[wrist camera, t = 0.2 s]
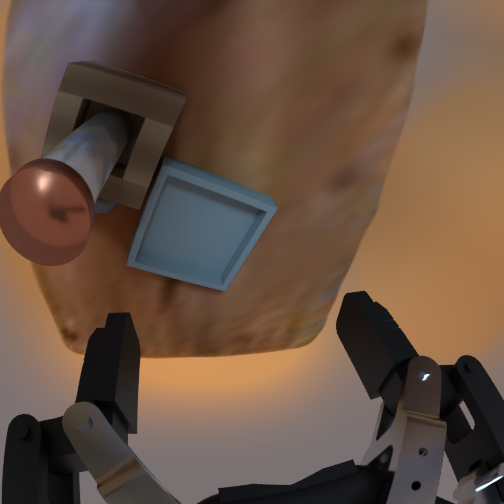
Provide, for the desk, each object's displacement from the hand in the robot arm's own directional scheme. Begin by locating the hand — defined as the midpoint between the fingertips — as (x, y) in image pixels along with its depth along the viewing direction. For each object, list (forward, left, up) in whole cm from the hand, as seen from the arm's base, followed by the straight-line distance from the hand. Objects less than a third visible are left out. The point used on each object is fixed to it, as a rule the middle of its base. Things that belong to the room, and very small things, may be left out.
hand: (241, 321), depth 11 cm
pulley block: (+2, -9, -22) cm, 24 cm away
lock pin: (+1, -9, -19) cm, 21 cm away
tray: (+9, +3, -22) cm, 24 cm away
